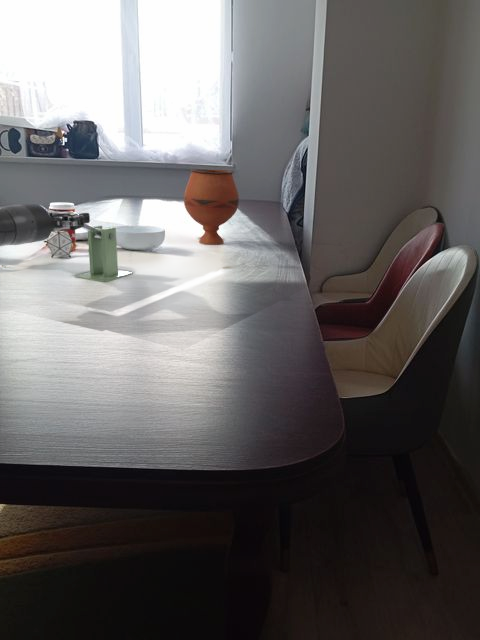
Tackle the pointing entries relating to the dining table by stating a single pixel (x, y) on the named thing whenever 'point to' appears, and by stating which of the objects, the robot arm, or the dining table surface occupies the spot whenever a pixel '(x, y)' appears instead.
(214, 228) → the goblet
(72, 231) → the paper cup
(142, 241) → the cereal bowl
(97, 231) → the lever
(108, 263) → the bracket
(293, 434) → the dining table surface
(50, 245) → the game die
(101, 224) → the square plate
